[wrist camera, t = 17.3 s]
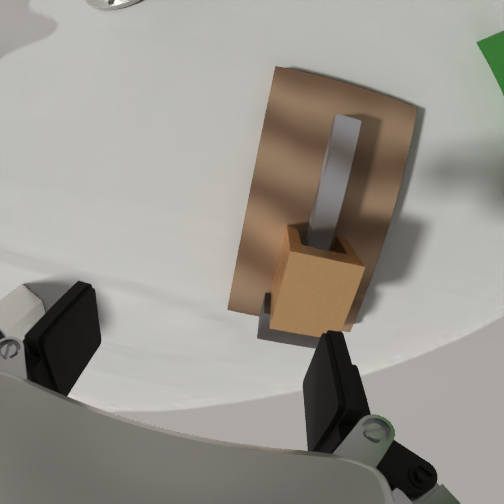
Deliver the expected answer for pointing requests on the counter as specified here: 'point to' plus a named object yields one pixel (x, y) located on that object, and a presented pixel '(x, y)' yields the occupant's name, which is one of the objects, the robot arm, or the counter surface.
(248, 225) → the rail board
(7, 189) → the counter surface
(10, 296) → the jar
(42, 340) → the robot arm
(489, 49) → the hardback book
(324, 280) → the wooden block
